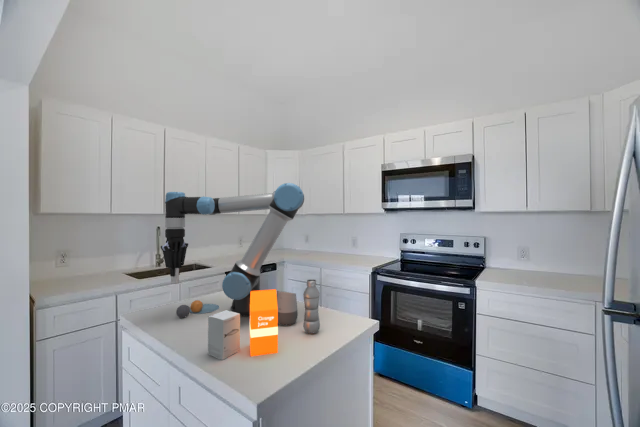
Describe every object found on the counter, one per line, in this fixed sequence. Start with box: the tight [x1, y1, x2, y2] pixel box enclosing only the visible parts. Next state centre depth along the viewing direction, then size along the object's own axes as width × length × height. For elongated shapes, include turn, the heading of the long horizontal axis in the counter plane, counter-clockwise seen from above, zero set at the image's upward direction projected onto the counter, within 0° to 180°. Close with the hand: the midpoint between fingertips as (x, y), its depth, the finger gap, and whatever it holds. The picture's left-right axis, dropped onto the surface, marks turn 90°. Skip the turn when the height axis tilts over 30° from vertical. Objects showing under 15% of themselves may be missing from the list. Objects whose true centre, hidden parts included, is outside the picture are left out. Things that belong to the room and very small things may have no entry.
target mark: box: [189, 303, 220, 315], centre depth 136 cm, size 14×14×1 cm
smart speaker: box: [276, 290, 299, 327], centre depth 118 cm, size 10×9×14 cm
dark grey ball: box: [175, 304, 191, 319], centre depth 125 cm, size 6×6×6 cm
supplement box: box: [207, 309, 241, 361], centre depth 92 cm, size 7×7×13 cm
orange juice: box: [249, 288, 279, 357], centre depth 95 cm, size 8×9×20 cm
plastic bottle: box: [302, 279, 321, 334], centre depth 109 cm, size 6×7×20 cm
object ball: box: [189, 299, 204, 312], centre depth 131 cm, size 6×6×6 cm
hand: (174, 283), depth 119 cm, fingers closed
